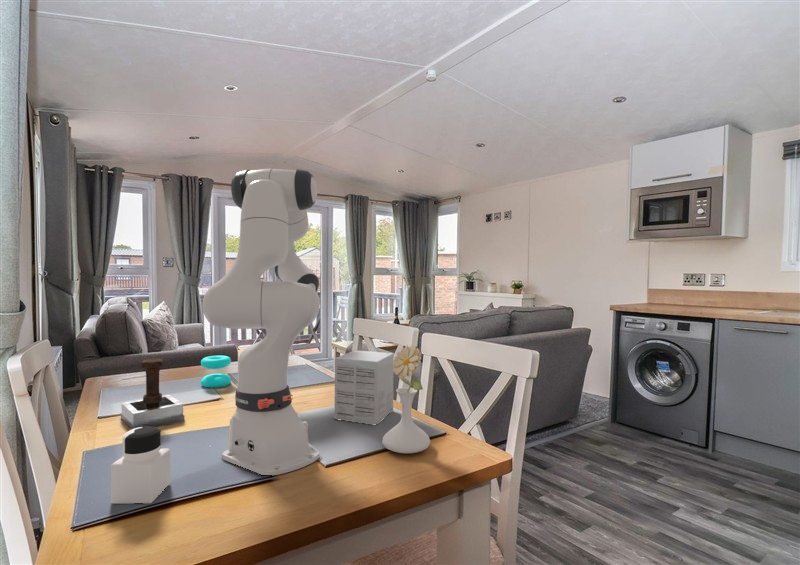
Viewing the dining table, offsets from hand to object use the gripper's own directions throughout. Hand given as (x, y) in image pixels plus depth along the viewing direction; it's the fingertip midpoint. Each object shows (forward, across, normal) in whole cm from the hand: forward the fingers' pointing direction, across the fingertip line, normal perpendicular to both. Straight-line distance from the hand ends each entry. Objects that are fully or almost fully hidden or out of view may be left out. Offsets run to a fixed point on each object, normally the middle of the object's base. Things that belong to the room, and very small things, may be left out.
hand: (232, 307), depth 133 cm
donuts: (-5, -25, +30) cm, 40 cm away
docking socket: (+22, -1, +30) cm, 37 cm away
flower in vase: (-15, +61, +30) cm, 70 cm away
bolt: (+22, -1, +29) cm, 36 cm away
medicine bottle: (+35, +41, +30) cm, 62 cm away
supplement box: (-23, +36, +30) cm, 52 cm away
